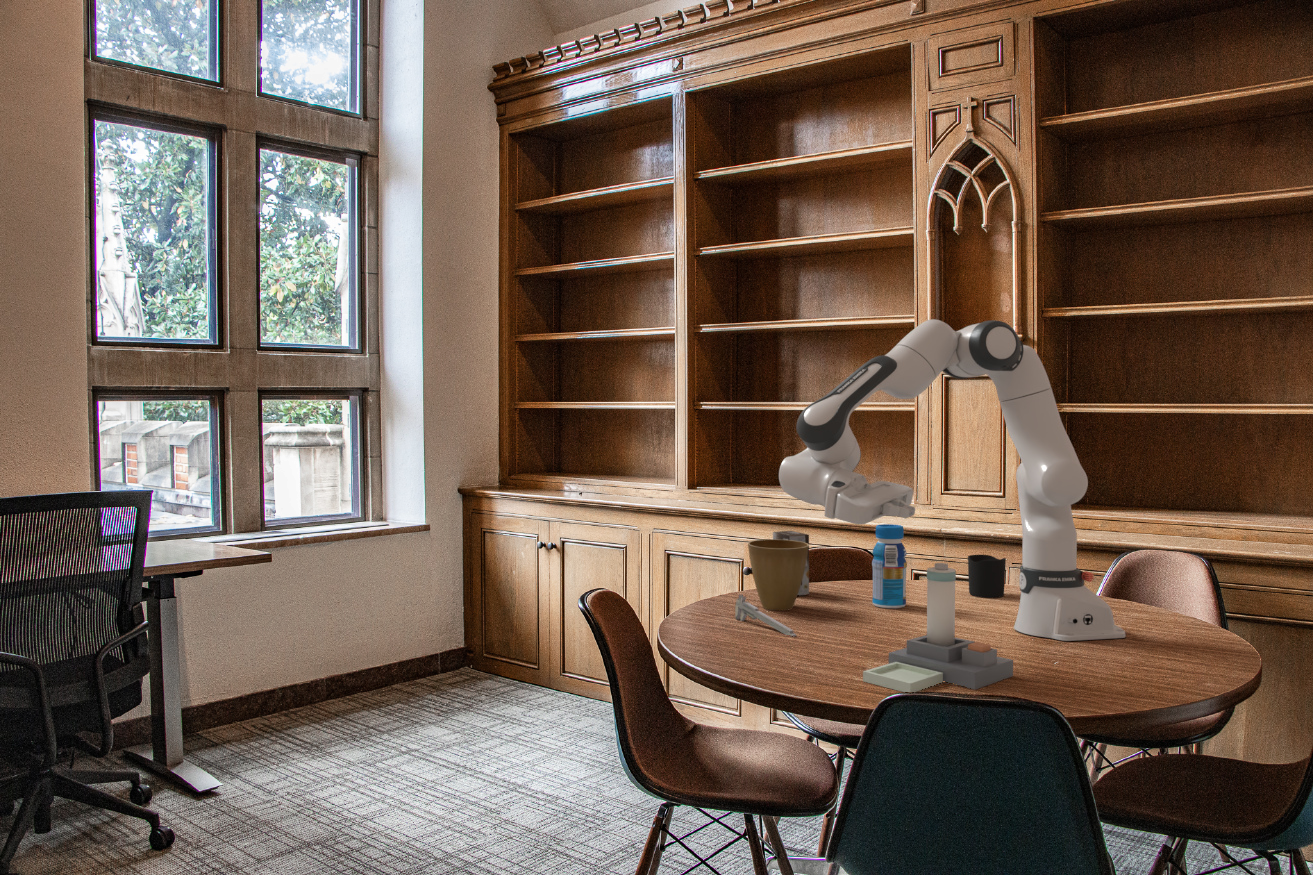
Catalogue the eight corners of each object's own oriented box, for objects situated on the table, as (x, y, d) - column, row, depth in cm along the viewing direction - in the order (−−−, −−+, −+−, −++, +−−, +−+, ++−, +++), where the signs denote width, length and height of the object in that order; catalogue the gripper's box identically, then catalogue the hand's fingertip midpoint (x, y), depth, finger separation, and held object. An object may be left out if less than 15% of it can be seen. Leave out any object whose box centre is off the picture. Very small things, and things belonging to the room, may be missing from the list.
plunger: (976, 658, 175) (976, 641, 175) (990, 661, 173) (990, 644, 173) (968, 660, 173) (968, 644, 173) (982, 663, 171) (982, 647, 171)
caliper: (735, 620, 222) (735, 593, 222) (738, 619, 223) (738, 593, 223) (793, 638, 205) (793, 609, 205) (797, 637, 206) (797, 608, 206)
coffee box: (810, 594, 251) (810, 534, 251) (789, 596, 249) (789, 535, 248) (792, 588, 260) (792, 530, 259) (771, 590, 257) (771, 531, 257)
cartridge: (950, 650, 182) (950, 561, 181) (958, 657, 176) (959, 566, 176) (922, 650, 182) (923, 561, 181) (930, 657, 176) (931, 566, 176)
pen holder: (1002, 592, 254) (1003, 555, 254) (1007, 599, 245) (1008, 560, 245) (966, 590, 256) (966, 554, 256) (969, 597, 247) (969, 559, 247)
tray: (895, 671, 178) (895, 661, 178) (942, 682, 171) (942, 672, 171) (862, 681, 172) (862, 671, 172) (910, 693, 164) (910, 683, 164)
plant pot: (737, 609, 233) (737, 544, 232) (763, 599, 245) (763, 537, 245) (794, 616, 225) (794, 549, 224) (817, 605, 238) (818, 541, 237)
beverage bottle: (865, 605, 238) (865, 525, 237) (884, 600, 244) (885, 522, 243) (894, 610, 232) (894, 528, 231) (913, 605, 237) (913, 525, 237)
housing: (928, 656, 189) (928, 629, 188) (1013, 676, 175) (1013, 646, 175) (888, 668, 180) (888, 639, 180) (974, 689, 166) (975, 658, 166)
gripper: (873, 498, 201) (933, 517, 192) (820, 518, 186) (883, 540, 177) (877, 469, 199) (938, 487, 190) (824, 488, 184) (888, 508, 175)
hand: (911, 513), depth 183 cm, fingers closed
